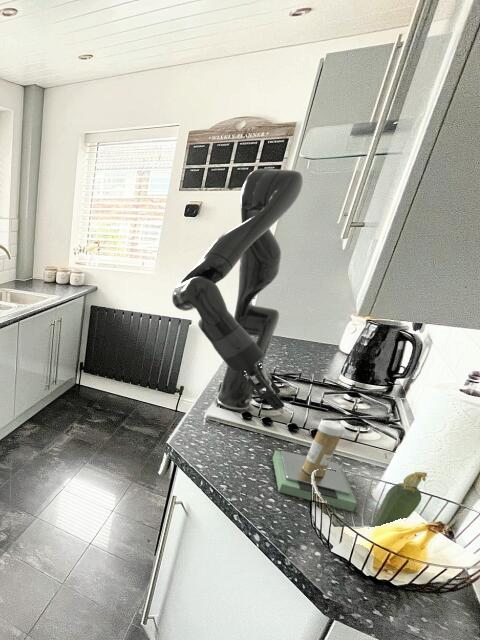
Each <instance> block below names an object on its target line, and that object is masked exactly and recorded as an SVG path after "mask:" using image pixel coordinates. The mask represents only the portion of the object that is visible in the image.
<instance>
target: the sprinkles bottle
mask: <svg viewBox="0 0 480 640" xmlns="http://www.w3.org/2000/svg"><path fill="white" fill-rule="evenodd" d="M345 431H346V427H345V426H344V425H343V424H342V423H339V422H337V421H334V420H328V419H324V420H321V421H320V422H319V425H318V427H317V432H316V434H315V436H314V438H313V440H312V443H311V446H310V448H309V450H308V452H307V455H306V456H307V459H306V461H305V464H304V465H303V467H302V469H303V470H304V471H305V472H306V473H308V474H310V475H311V473H312V472H313V471H314V470H317V469H327V467H328V465H329V463H330V462H332V458H333V457H334V454H335V451H336V449H337V446H338V444H339V442H340V439H341V437H342V436H343V435H344V434H345ZM325 472H326V470H319V471H318V472H317V473H316V475H315V476H316V477H323V476H324V475H325Z"/></svg>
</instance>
